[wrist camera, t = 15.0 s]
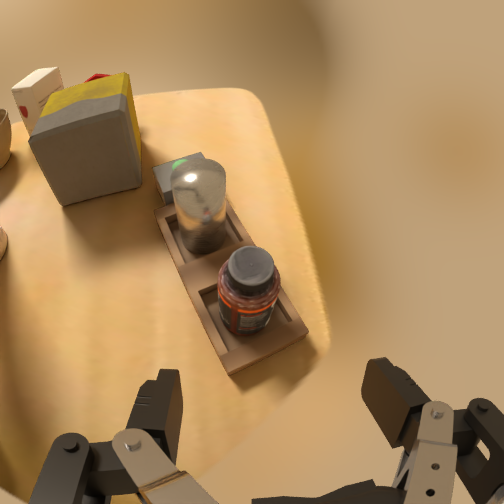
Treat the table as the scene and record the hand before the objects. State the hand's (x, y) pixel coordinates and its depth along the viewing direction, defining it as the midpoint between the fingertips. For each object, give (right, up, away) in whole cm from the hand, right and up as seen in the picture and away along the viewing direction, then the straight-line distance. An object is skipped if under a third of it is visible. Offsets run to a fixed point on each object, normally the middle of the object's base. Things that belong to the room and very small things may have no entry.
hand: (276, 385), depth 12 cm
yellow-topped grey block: (-29, +24, +39) cm, 54 cm away
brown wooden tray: (-5, +3, +27) cm, 28 cm away
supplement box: (-49, +35, +45) cm, 75 cm away
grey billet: (-8, +8, +29) cm, 31 cm away
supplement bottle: (-2, -2, +24) cm, 24 cm away
